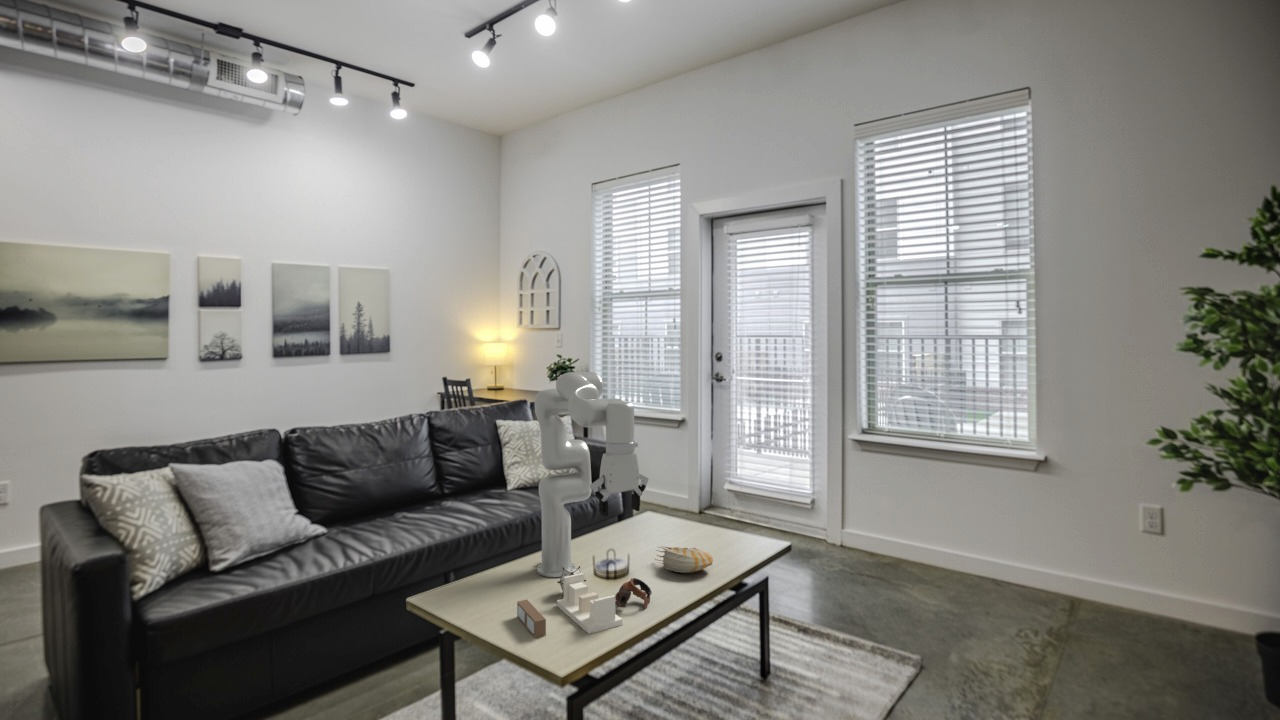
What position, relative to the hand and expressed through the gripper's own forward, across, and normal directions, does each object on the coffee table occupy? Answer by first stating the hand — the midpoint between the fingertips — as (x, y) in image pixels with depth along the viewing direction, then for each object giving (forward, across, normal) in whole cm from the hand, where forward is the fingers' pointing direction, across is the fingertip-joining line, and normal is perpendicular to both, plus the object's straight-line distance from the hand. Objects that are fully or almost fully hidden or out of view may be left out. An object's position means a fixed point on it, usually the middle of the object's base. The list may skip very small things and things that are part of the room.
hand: (620, 512), depth 166 cm
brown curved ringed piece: (+30, -9, -9) cm, 33 cm away
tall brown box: (+30, +20, -12) cm, 38 cm away
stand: (+30, +4, -10) cm, 32 cm away
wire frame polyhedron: (+30, +2, -25) cm, 39 cm away
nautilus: (+30, -38, -24) cm, 54 cm away
